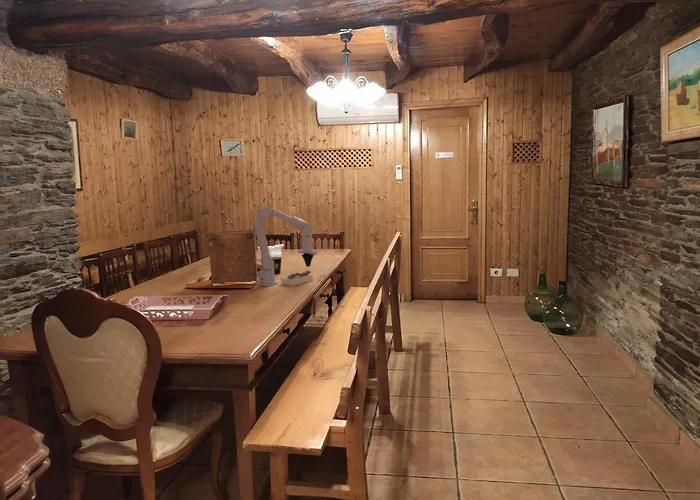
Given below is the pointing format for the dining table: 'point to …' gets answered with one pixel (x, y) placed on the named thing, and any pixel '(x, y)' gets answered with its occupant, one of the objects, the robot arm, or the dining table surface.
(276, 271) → the coffee mug
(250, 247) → the carved wooden box
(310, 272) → the rocker outer
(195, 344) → the dining table surface
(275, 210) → the robot arm
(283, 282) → the power strip
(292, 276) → the rocker inner
